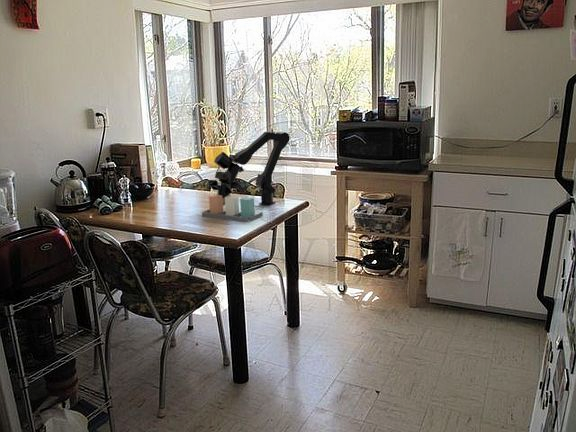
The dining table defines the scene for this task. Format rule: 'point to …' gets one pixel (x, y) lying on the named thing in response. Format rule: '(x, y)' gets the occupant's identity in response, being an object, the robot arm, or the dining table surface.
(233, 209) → the white rectangular block
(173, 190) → the dining table surface
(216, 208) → the pink upright block
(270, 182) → the robot arm
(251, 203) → the teal block
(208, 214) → the grey tray
